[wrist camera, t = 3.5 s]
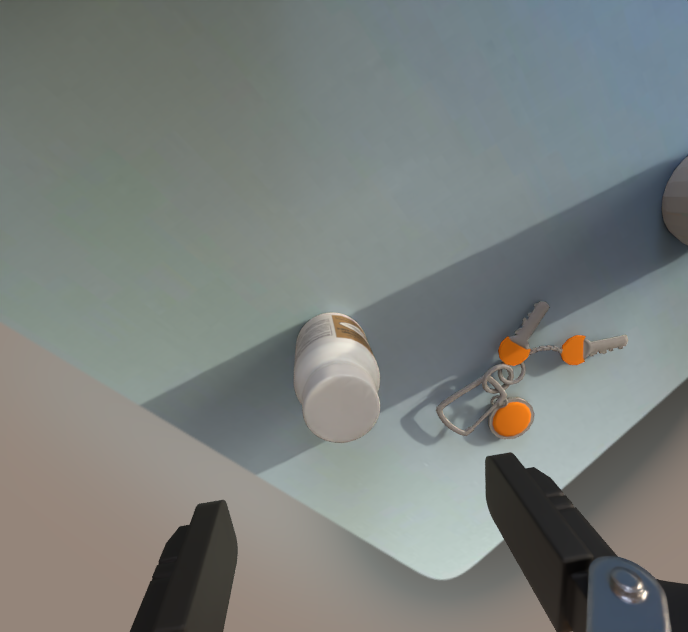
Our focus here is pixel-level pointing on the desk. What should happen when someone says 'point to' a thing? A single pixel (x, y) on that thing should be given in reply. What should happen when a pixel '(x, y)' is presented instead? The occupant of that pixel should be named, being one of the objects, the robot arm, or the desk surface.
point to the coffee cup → (677, 202)
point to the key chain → (517, 413)
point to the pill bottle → (336, 378)
